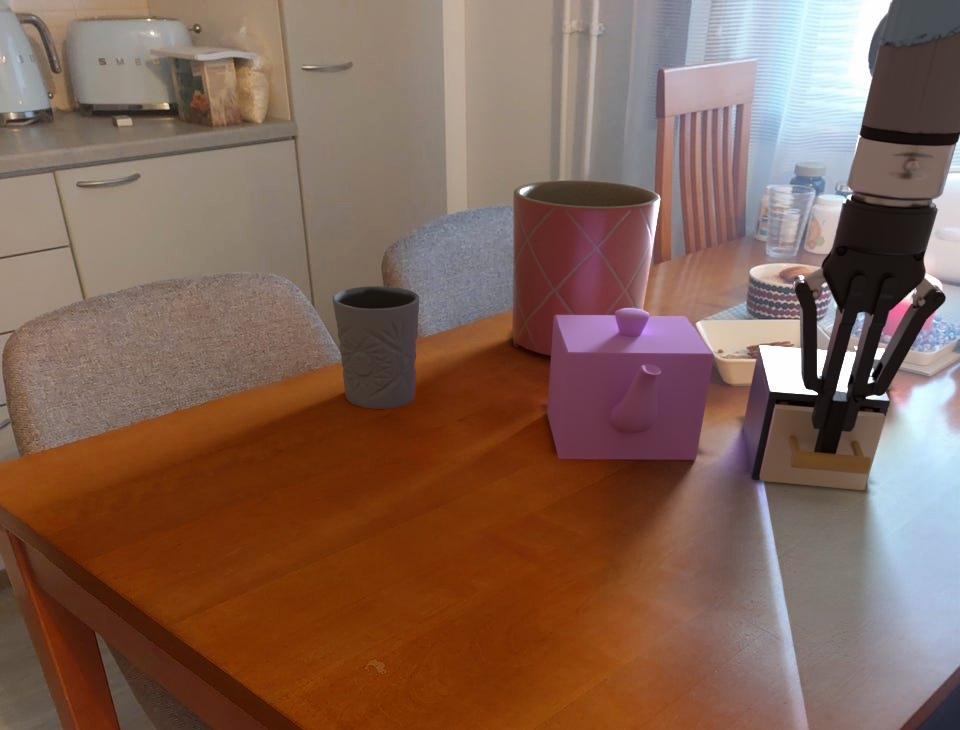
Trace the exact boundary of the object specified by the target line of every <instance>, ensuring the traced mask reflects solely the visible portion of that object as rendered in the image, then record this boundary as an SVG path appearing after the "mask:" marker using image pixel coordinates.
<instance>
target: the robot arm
mask: <svg viewBox="0 0 960 730" xmlns="http://www.w3.org/2000/svg"><path fill="white" fill-rule="evenodd" d="M867 52H868V53H867V63H868V67H867V68H868V70H869V74H870V77H871V81H870V85H869V89H868V95H867V98H866V103H865V107H864V111H863V115H862V116H863V117H862V120H861V127H860V129H859V135H858V138H857V142H856V146H855V149H854V154H853V158H852V162H851V165H850V169H849V175H848V180H847V183H846V187H847V188H848V190H849V191H850V192H852V193H851V194H849V195H847V196H846V198H844V199H843V200H842V205H841V207H840V208H841V209H840V213H839V217H838V221H837V224H836V230H835V234H834V237H833V242H832V247H831V249H830V251H829V252H828V254H827V256H825V258H824V259H823V261H822V263H821V267H820V268H818V269H817V270H815V271H813V272H811V273H809V274H808V275H805V276H803V275H797V276H795V277H794V279H793V280H792V283H791V284H792V288H793V291H794V293H795V296H796V297H797V300H798V302H799V332H800V333H799V338H800V339H799V341H800V349H801V378H802V381H803V384H804V387H805V388H806V389H807V390H812V391H814V392H816V393H817V397H816V401H815V405H814V409H813V414H812V418H811V419H812V424H813V427H814V429H820V430H819V433H818V437H817V441H816V445H815V449H814V452H817V453H829V454H836V452H837V448H838V444H839V440H840V437H841V433H842V431H847V432H851V431H852V429H853V428H854V426H855V423H856V419H857V415H858V412H859V408H860V405H861V403H863V402H864V401H865V399H866V397H868V396H872V395H876V396H881V395H883V394H885V392H886V393H887V391H888V390H889V389H888V387H889V386H890V384H891V385H892V383H891V382H893V381H894V378H895V377H896V375H897V374H898V372H899V369H900V368H901V367H902V364H903V363H904V361H905V359H906V358H907V356H908V353H909V352H910V350H911V348H912V347H913V345H914V344H915V341H916V340H917V338H918V336H919V335H920V333H921V331H922V329H923V327H924V325H925V324H926V322H927V320H928V319H929V318H931V316H932V315H933V314H934V313H935V312H937V310H938V309H940V307H942V305H944V304H945V302H946V298H947V297H946V294H945V293H944V292H943V290H942V289H941V288H940V287H939V286H938V285H936V284H932V283H931V281H929V280H928V279H927V278H926V275H927V274H926V273H927V272H926V271H927V269H926V265H925V255H926V252H927V249H928V245H929V242H930V239H931V235H932V232H933V228H934V225H935V221H936V218H937V214H938V211H939V209H938V208H937V205H936V203H935V202H933V200H935V199H938V198H939V197H941V196H942V195H943V194H944V190H945V186H946V183H947V179H948V176H949V172H950V168H951V166H952V161H953V158H954V155H955V150H956V147H957V143H959V140H960V0H891V1H890V3H889V6H888V10H887V13H885V15H884V16H883V17H882V18H881V19H880V21H879V22H878V24H877V26H876V28H875V29H874V31H873V34H872V36H871V39H870V43H869V46H868V51H867ZM825 283H826V284H827V287H828V289H829V291H830V293H831V296H832V299H833V301H834V302H835V305H836V309H835V317H834V322H833V325H832V329H831V333H830V337H829V342H828V345H827V350H826V351H827V353H826V357H825V361H824V365H823V369H822V373H821V375H819V374H817V350H818V310H817V309H818V308H817V304H816V300H818V299H819V298H820V297H821V296H822V286H823V285H824V284H825ZM910 293H912V294H911V296H910V302H911V304H909V306H908V307H907V310H906V311H905V312H904V315H903V316H902V318H901V320H900V322H899V323H898V325H897V328H896V329H895V331H894V333H893V334H892V336H891V338H890V339H889V342H888V343H887V345H886V347H885V348H884V349H885V351H884V353H883V355H882V356H881V358H880V360H879V362H878V364H877V365H876V367H875V369H874V371H873V373H872V375H871V376H870V374H871V370H872V367H873V363H874V359H875V356H876V352H877V349H878V348H879V345H880V341H881V338H882V334H883V330H884V328H885V327H886V325H887V321H888V318H889V313H890V311H892V310H893V309H895V307H897V306H898V305H899V304H900V303H902V301H903V300H904V299H905V298H907V296H909V294H910ZM860 313H864V320H863V324H862V327H861V331H860V336H859V338H858V343H857V346H856V347H857V350H856V354H855V358H854V361H853V365H852V369H851V373H850V377H849V380H848V384H847V393H846V392H844V391H836V389H837V386H838V382H839V378H840V374H841V370H842V367H843V363H844V359H845V355H846V352H848V347H849V344H850V340H851V336H852V332H853V328H854V326H855V324H856V322H857V318H858V314H860ZM890 387H891V386H890Z"/></svg>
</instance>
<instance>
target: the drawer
mask: <svg viewBox="0 0 960 730" xmlns="http://www.w3.org/2000/svg"><path fill="white" fill-rule="evenodd" d="M814 405H815V402H802V401H790V400H778V399H776V403H775V407H774V411H773V416H772V421H771V425H770V430H769V434H768V439H767V444H766V448H765V453H764V457H763V462H762V466H761V471H760V480H759V481H760V482H768V483H780V484H781V483H782V484H791V485H801V486H802V485H803V486H813V487H822V488H834V489H836V488H837V489H843V490H855V491H865V490H866V486H867V484H868V480H869V476H870V473H871V469H872V467H873V464H874V460H875V456H876V452H877V450H878V445H879V443H880V439H881V436H882V432H883V429H884V425H885V422H886V418H887V416H886V417H885V415H884V413H873V408H872V407H863V406H860V408H859V412H858V415H857V419H856V423H855V426H854V428H853V429H852V431H851V432H847V431H842V433H841V437H840V440H839V444H838V448H837V452H836V454H829V453H817V452H814V449H815V445H816V441H817V437H818V433H819V430H820V429H814V427H813V424H812V419H811V418H812V414H813V409H814Z"/></svg>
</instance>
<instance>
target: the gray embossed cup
mask: <svg viewBox="0 0 960 730" xmlns="http://www.w3.org/2000/svg"><path fill="white" fill-rule="evenodd" d="M332 304H333V310H334V318H335V322H336V327H337V338H338V340H339V343H340V344H339V354H340V357H341V358H340V359H341V366H342V379H343V380H342V381H343V386H344V393H345V394H344V395H345V398H346V400H347V401H348V402H349V403H350V404H352V405H354V406H357V407H359V408H364V409H369V410H390V409H396V408H400V407H403V406H406V405H408V404H410V403H411V402H413V400H414V399H415V395H416V383H417V382H416V378H417V377H416V376H417V372H416V365H415V364H416V359H417V352H416V349H417V344H416V343H417V338H418V328H419V312H420V295H419V294H417V293H416V292H415V291H412V290H410V289H406V288H401V287H395V286H385V285H384V286H383V285H381V286H380V285H374V286H373V285H372V286H358V287H352V288H347V289H344V290H341V291H338V292H337V293H335V294H334V295H333V296H332Z"/></svg>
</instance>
